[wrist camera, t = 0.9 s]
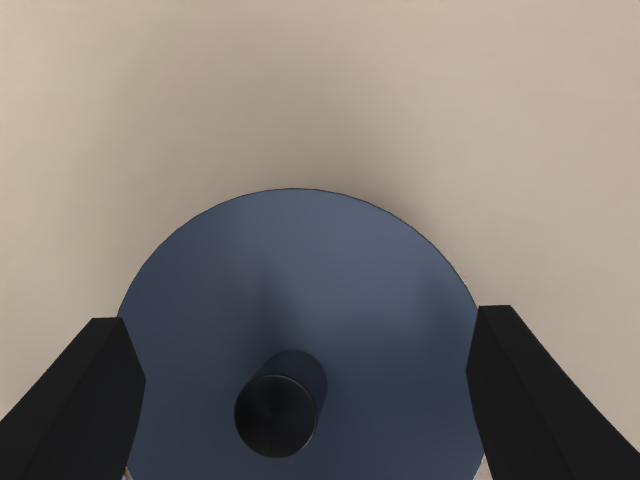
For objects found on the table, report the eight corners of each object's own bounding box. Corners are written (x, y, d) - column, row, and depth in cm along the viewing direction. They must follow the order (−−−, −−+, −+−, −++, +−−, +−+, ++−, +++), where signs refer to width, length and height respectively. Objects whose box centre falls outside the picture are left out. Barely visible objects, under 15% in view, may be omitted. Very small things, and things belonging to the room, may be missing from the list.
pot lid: (489, 572, 19) (523, 674, 14) (121, 551, 20) (50, 638, 16) (487, 187, 19) (521, 172, 14) (118, 193, 20) (47, 181, 16)
